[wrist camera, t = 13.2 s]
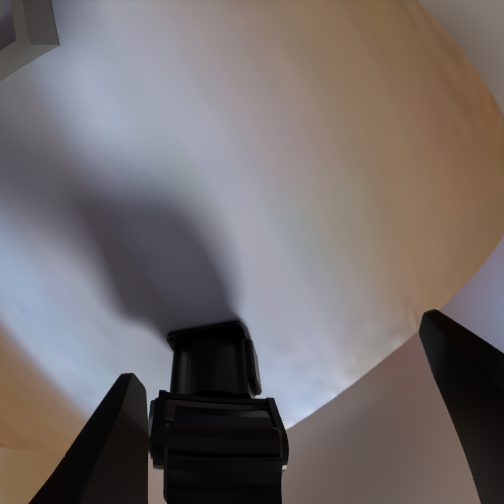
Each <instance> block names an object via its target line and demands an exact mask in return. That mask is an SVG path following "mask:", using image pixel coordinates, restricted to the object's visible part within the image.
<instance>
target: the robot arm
mask: <svg viewBox="0 0 504 504" xmlns="http://www.w3.org/2000/svg"><path fill="white" fill-rule="evenodd" d="M235 326H238V327H235ZM419 335H420V338H421V342H422V344H423V347H424V350H425V353H426V356H427V359H428V362H429V365H430V368H431V371H432V374H433V377H434V379H435V381H436V384H437V386H438V388H439V390H440V393H441V395H442V398H443V400H444V402H445V405H446V407H447V409H448V412H449V414H450V417H451V419H452V421H453V424H454V426H455V429H456V432H457V434H458V437H459V439H460V442H461V445H462V447H463V450H464V453H465V455H466V459H467V461H468V464H469V467H470V470H471V473H472V476H473V480H474V483H475V486H476V489H477V492H478V496H479V499H480V502H481V504H504V353H502V352H501V351H499V350H498V349H497V348H495V347H493V346H492V345H491V344H489V343H488V342H486V341H484V340H483V339H482V338H480V337H479V336H477V335H476V334H474V333H472V332H471V331H469V330H468V329H466V328H465V327H463V326H462V325H460V324H459V323H457V322H455V321H454V320H452V319H451V318H449V317H448V316H446V315H444V314H443V313H441V312H440V311H438V310H436V309H433V310H430V311H427V312H424V314H423V316H422V320H421V324H420V328H419ZM171 337H172V338H171ZM167 341H168V343H169V345H170V346H171V348H172V350H173V352H174V353H173V363H172V373H171V385H170V392H167V391H165V390H159V397H158V398H156V399H155V400H152V401H151V404H150V412H149V420H148V415H147V397H146V390H145V387H144V386H143V384H142V383H141V382H140V381H139V379H138V378H137V377H136V375H135V374H133V373H124V374H121V375H120V376H119V377H118V379H117V380H116V381H115V383H114V384H113V386H112V387H111V389H110V390H109V391H108V393H107V394H106V396H105V397H104V399H103V400H102V401H101V403H100V404H99V406H98V407H97V409H96V410H95V411H94V413H93V414H92V416H91V417H90V419H89V420H88V422H87V423H86V425H85V426H84V427H83V429H82V430H81V432H80V433H79V435H78V436H77V438H76V439H75V441H74V442H73V444H72V445H71V447H70V448H69V450H68V451H67V453H66V454H65V457H63V459H62V460H61V462H60V463H59V465H58V466H57V467H56V469H55V470H54V472H53V473H52V475H51V476H50V477H49V479H48V480H47V481H46V483H45V484H44V485H43V486H42V487H41V489H40V490H39V491H38V492H37V494H36V495H35V496H34V497H33V498H32V500H31V501H30V502H29V503H28V504H148V452H149V453H150V456H151V459H153V468H154V469H159V470H164V489H163V494H164V499H165V501H166V502H167V504H282V496H281V477H282V472H284V470H285V469H286V466H287V462H288V456H289V446H288V438H287V434H286V431H285V428H284V425H283V423H282V420H281V417H280V414H279V411H278V409H277V406H276V403H275V400H274V398H266V399H256V398H255V396H256V395H260V394H261V392H262V389H261V382H260V374H259V366H258V359H257V354H256V351H255V348H254V345H253V342H252V340H250V339H247V338H246V334H245V331H244V328H243V325H242V323H241V322H240V321H232V322H226V323H221V324H215V325H210V326H204V327H198V328H193V329H187V330H181V331H175V332H170V333H168V334H167Z"/></svg>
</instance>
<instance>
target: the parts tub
mask: <svg viewBox="0 0 504 504" xmlns="http://www.w3.org/2000/svg"><path fill="white" fill-rule="evenodd" d="M10 3H11V11H12V17H13V24H14V30H15V35H16V40H15V41H14V42H12V43H11V44H9V45H8V46H6V47H5V48H3V49H2V50H1V51H0V81H1V80H2V79H4V78H5V77H7V76H8V75H10V74H11V73H13V72H14V71H16V70H17V69H19V68H21V67H22V66H24V65H25V64H27V63H29V62H30V61H32V60H34V59H35V58H37V57H39V56H41V55H42V54H44V53H46V52H48V51H50V50H51V49H53V48H55V47H57V46H59V45H60V44H59V40H58V35H57V31H56V26H55V21H54V16H53V10H52V5H51V0H10Z"/></svg>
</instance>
